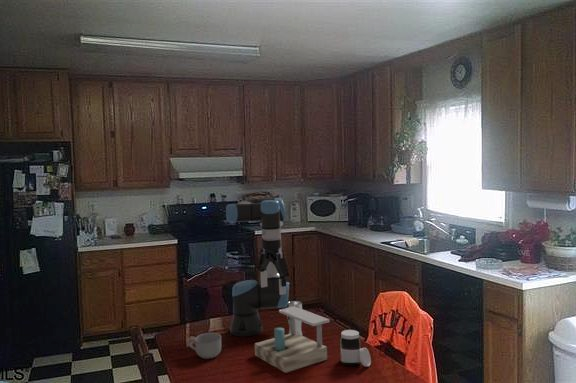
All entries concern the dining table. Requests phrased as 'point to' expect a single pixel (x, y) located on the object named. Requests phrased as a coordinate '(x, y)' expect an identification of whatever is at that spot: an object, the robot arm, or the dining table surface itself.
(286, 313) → the grey piece
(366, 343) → the dining table surface
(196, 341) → the teacup
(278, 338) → the peg
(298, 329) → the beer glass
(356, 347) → the spread jar
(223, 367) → the dining table surface
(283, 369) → the socket block
